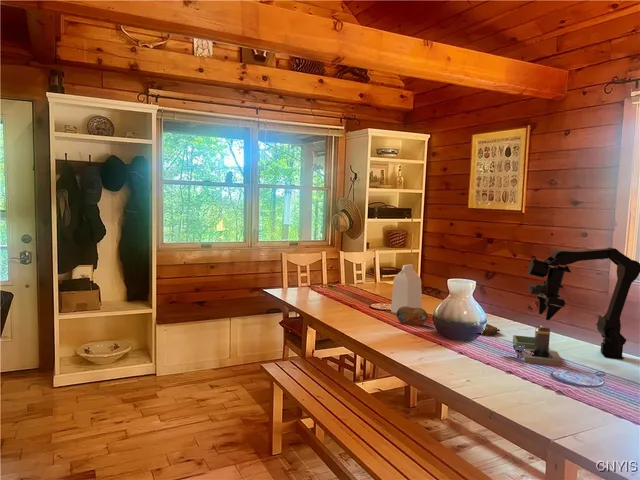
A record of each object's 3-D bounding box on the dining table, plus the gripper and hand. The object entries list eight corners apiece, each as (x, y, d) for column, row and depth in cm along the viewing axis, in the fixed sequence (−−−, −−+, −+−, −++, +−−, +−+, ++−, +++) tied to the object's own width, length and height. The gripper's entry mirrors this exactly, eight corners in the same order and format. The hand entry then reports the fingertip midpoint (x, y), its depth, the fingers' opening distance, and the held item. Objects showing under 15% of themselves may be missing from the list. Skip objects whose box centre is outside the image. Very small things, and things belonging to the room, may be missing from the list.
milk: (406, 316, 235) (408, 267, 232) (390, 311, 244) (392, 264, 242) (422, 313, 242) (423, 265, 239) (406, 308, 251) (407, 262, 249)
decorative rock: (462, 328, 216) (482, 339, 202) (462, 320, 216) (482, 330, 202) (482, 325, 220) (503, 335, 206) (482, 317, 219) (503, 327, 205)
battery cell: (546, 357, 176) (549, 324, 175) (549, 362, 171) (551, 328, 170) (532, 356, 178) (534, 323, 176) (534, 360, 173) (536, 327, 172)
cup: (539, 345, 191) (540, 337, 190) (544, 353, 181) (544, 345, 180) (512, 342, 194) (513, 335, 194) (515, 350, 184) (516, 342, 183)
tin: (396, 322, 224) (396, 305, 223) (398, 320, 226) (398, 304, 226) (426, 326, 217) (426, 309, 216) (427, 325, 219) (428, 308, 219)
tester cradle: (556, 356, 178) (556, 350, 178) (562, 366, 167) (562, 360, 167) (520, 352, 182) (521, 346, 181) (524, 362, 171) (525, 356, 171)
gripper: (527, 271, 191) (517, 306, 193) (540, 279, 173) (529, 318, 175) (554, 278, 189) (544, 313, 191) (570, 286, 171) (559, 325, 173)
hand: (543, 317), depth 183 cm, fingers open, 9 cm apart
